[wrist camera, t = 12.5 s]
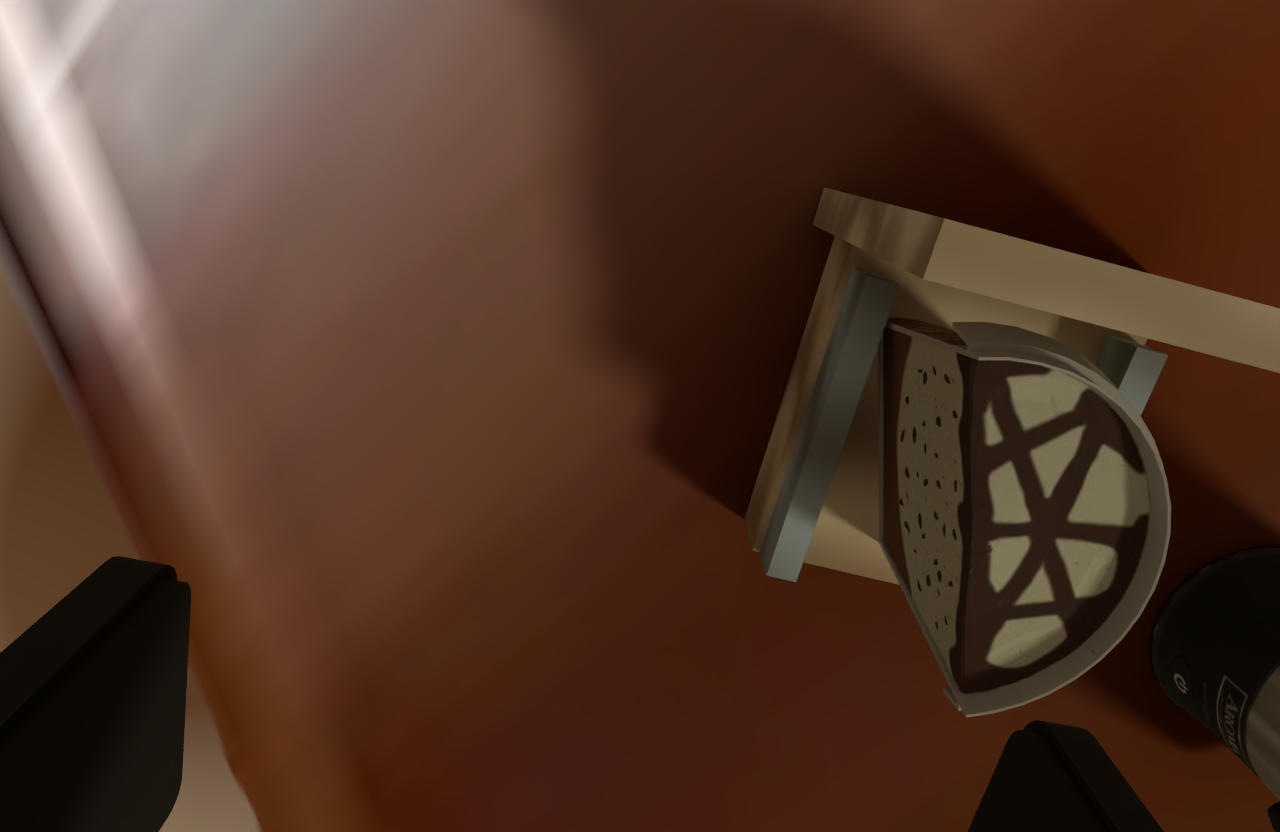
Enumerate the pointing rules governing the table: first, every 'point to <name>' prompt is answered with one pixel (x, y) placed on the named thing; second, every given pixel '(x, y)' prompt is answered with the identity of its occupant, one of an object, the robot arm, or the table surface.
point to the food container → (1014, 506)
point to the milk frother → (1228, 657)
